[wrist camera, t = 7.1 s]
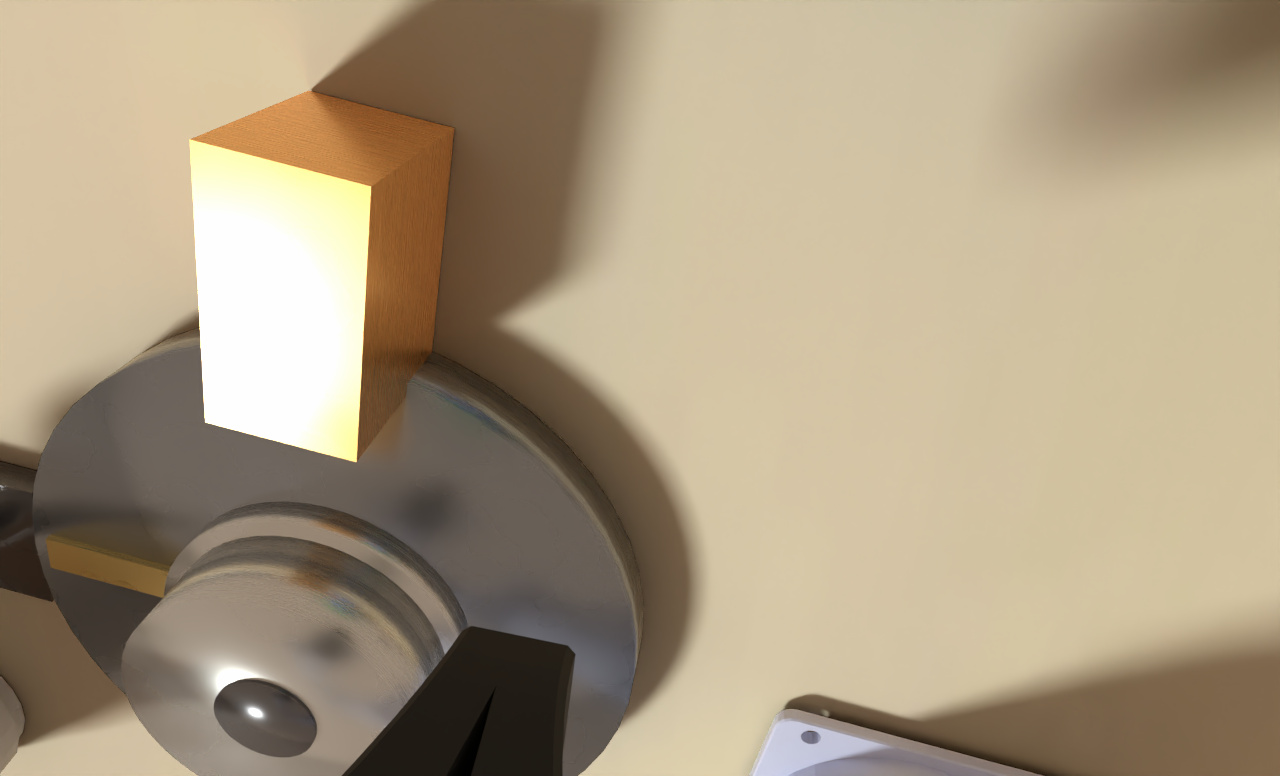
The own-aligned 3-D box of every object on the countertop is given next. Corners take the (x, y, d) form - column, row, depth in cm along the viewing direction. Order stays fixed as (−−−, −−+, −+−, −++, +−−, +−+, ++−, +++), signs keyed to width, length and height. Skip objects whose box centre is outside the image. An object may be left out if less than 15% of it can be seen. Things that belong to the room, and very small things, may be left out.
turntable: (773, 209, 17) (769, 289, 14) (585, 829, 28) (556, 961, 24) (-4, 11, 17) (-199, 39, 14) (105, 698, 28) (10, 810, 25)
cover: (485, 545, 20) (439, 644, 18) (460, 754, 24) (419, 861, 22) (169, 468, 21) (76, 554, 18) (195, 686, 25) (121, 784, 22)
